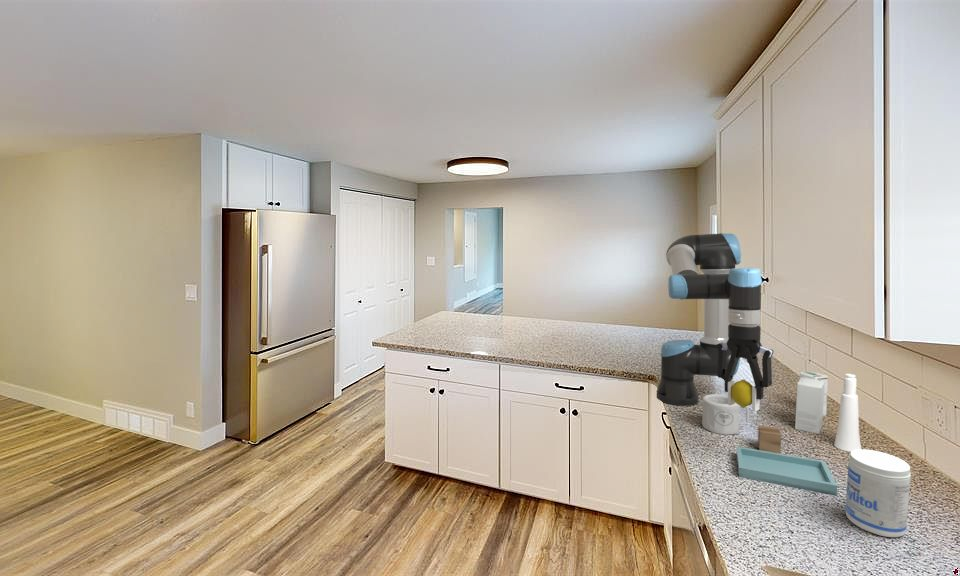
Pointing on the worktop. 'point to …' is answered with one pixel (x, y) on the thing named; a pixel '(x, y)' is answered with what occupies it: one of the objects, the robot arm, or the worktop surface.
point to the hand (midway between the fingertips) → (743, 406)
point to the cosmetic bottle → (848, 417)
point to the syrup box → (819, 377)
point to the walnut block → (769, 439)
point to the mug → (721, 415)
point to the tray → (786, 470)
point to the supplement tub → (878, 492)
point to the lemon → (742, 393)
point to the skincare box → (809, 405)
